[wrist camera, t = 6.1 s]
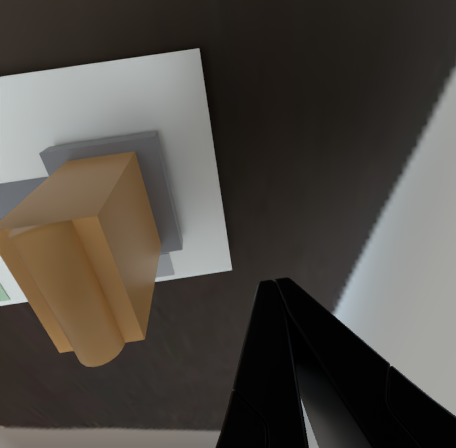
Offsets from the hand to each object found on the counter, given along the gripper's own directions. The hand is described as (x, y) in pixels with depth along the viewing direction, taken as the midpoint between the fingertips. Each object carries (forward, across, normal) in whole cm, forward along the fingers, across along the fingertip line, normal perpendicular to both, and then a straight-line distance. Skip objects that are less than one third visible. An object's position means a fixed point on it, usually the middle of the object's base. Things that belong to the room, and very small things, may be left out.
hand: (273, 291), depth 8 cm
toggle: (+8, +6, 0) cm, 10 cm away
